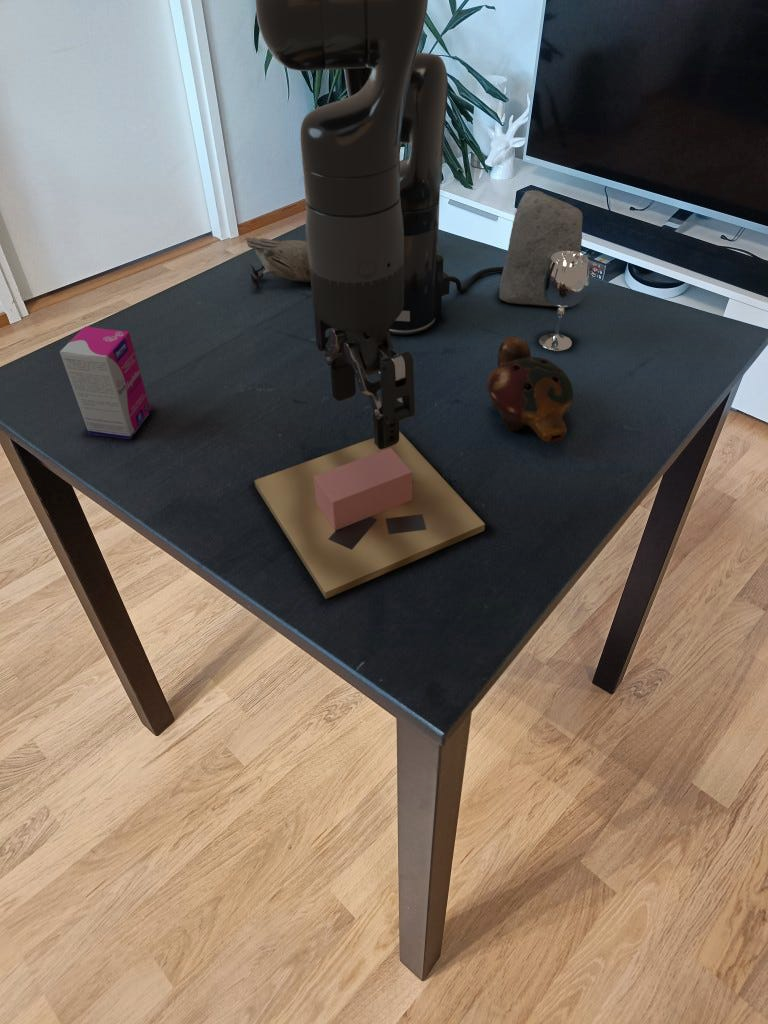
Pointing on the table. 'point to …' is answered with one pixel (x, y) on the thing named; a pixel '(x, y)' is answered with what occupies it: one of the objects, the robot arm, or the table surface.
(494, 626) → the table surface
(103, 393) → the supplement box
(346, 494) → the eraser
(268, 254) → the decorative bird
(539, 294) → the decorative stone
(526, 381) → the brown ceramic rounded figure
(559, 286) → the wineglass
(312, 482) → the board
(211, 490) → the table surface
